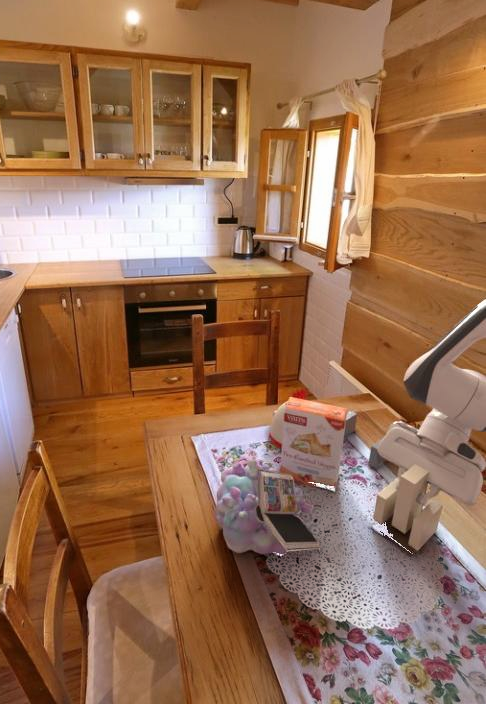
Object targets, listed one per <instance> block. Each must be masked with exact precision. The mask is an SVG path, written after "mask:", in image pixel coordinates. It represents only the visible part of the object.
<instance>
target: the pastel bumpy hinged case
mask: <svg viewBox="0 0 486 704" xmlns="http://www.w3.org/2000/svg"><path fill="white" fill-rule="evenodd" d="M263 462H264V461H263V460H262V459H256V456H255V455H251V456H249V457H248V459H247V460H246V465H245V466H244V465H243V464H242V463H241V462H240V461H237V462H235V463H234V464H233V467H227V468H225V469H224V470H223V471H222V472H221V475H220V482H221V484H220V485H219V487H218V488H217V491H216V505H215V507H214V518H215V521H216V523H217V525H218V526H219V528H220V529H221V530H222V534H223V535H222V536H223V539H224V541H225V543H226V546H227V548H228V549H229V550H231V551H232V552H234V553H236V554H242V553H246V552H248V551H253V552H255V553H256V554H259V555H269V554H272V553H271V552H276V553H279V554H285V553H287V552H288V553H293V552H307V551H319V549H320V550H321V547H320V546H319V541H318V539H317V538H316V537H315V536H314V534H313V533H312V532H311V530H310V529H309V528H308V527H307V525H306V524H305V520H304V519H303V518H302V517H301V516H300V515H299V513H300V512H302V513H303V514H304V515H306V516H309V515H310V514H311V513H312V511H313V505H312V504H311V503H309V502H307V501H306V500H305V498H304V497H305V495H304V493H303V491H302V489H301V487H300V486H297V487H296V486H295V481H294V479H293V477H292V475H290V474H284V473H280V471H277V470H276V469H275V468H273V467H270V466H269V465H268V464H266V463H263ZM268 553H269V554H268ZM288 553H287V554H288Z"/></svg>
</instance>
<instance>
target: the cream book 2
mask: <svg viewBox="0 0 486 704" xmlns="http://www.w3.org/2000/svg"><path fill="white" fill-rule="evenodd" d="M443 507H444V505H443V503H440V502H439V501H437V500H435V499H432V500H431V501H429V503H428V504H427V505H425V506H424V507H423V508H422V511H421V512H420V513H419V514H418V515H417V516H416V517H415V518H414V520H413V525H412V530H411V534H410V539H409V543H408V544H409V545H410V546H411V547H413V548H414V549H416V550H417V552H419V550H420V549H421V548H422V547H423V546H424V545H425V543H427V542H428V540H430V538H432V536H433V535H435V533H436V532H437V530H438V527H439V523H440V518H441V515H442V510H443Z"/></svg>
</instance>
